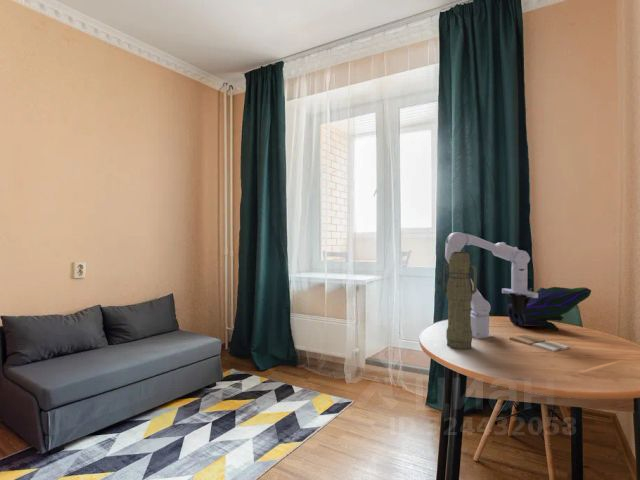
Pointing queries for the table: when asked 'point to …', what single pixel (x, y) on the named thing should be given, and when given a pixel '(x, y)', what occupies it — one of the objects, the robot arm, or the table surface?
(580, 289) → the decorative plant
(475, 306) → the robot arm
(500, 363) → the table surface
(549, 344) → the laid board
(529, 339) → the plank
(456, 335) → the thermos
